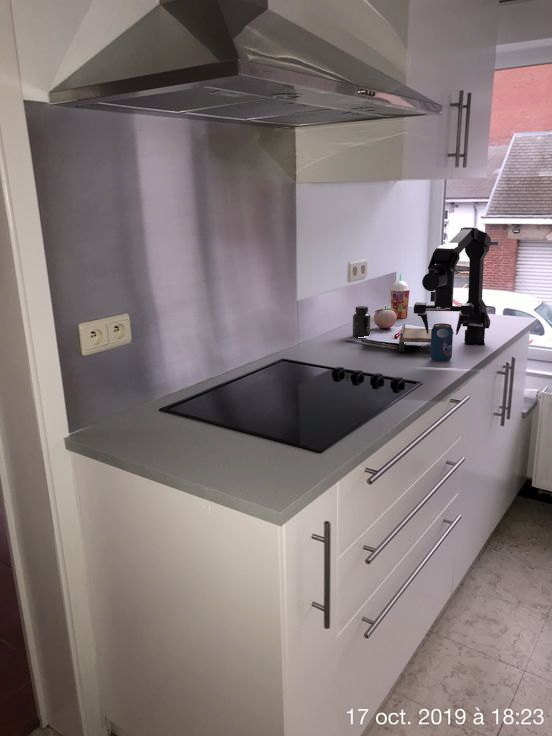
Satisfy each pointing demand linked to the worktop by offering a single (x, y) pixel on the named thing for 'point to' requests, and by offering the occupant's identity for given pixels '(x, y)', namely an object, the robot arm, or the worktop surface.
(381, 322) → the decorative fruit
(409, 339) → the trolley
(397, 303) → the smoothie
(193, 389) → the worktop surface
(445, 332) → the soda can
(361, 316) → the supplement bottle
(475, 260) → the robot arm
